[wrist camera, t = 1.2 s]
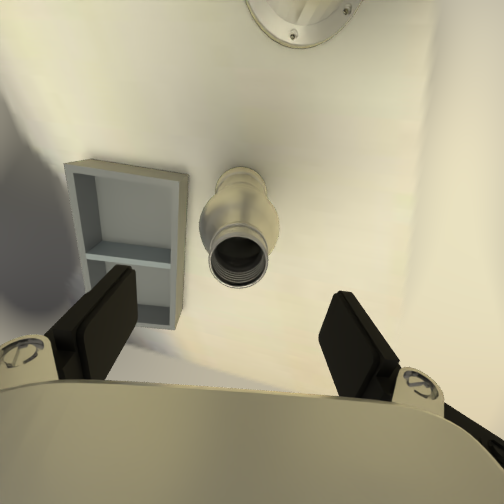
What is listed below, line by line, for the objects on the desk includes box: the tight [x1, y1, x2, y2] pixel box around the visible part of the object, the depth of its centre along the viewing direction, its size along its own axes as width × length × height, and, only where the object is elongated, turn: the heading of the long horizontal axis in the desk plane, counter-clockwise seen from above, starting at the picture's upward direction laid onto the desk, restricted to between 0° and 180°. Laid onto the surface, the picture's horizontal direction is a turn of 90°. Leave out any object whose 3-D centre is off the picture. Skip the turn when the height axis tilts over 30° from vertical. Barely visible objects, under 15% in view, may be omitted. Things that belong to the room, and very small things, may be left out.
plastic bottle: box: [199, 167, 280, 289], centre depth 23 cm, size 6×7×20 cm
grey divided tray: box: [64, 159, 189, 330], centre depth 33 cm, size 22×12×5 cm, turn 171°
